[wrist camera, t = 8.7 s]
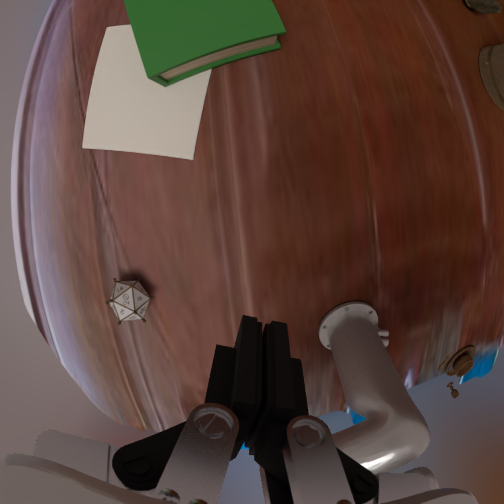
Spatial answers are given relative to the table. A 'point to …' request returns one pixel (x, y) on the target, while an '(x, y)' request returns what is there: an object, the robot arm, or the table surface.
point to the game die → (129, 300)
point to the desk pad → (140, 103)
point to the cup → (483, 6)
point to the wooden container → (493, 72)
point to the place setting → (459, 366)
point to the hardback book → (200, 34)
